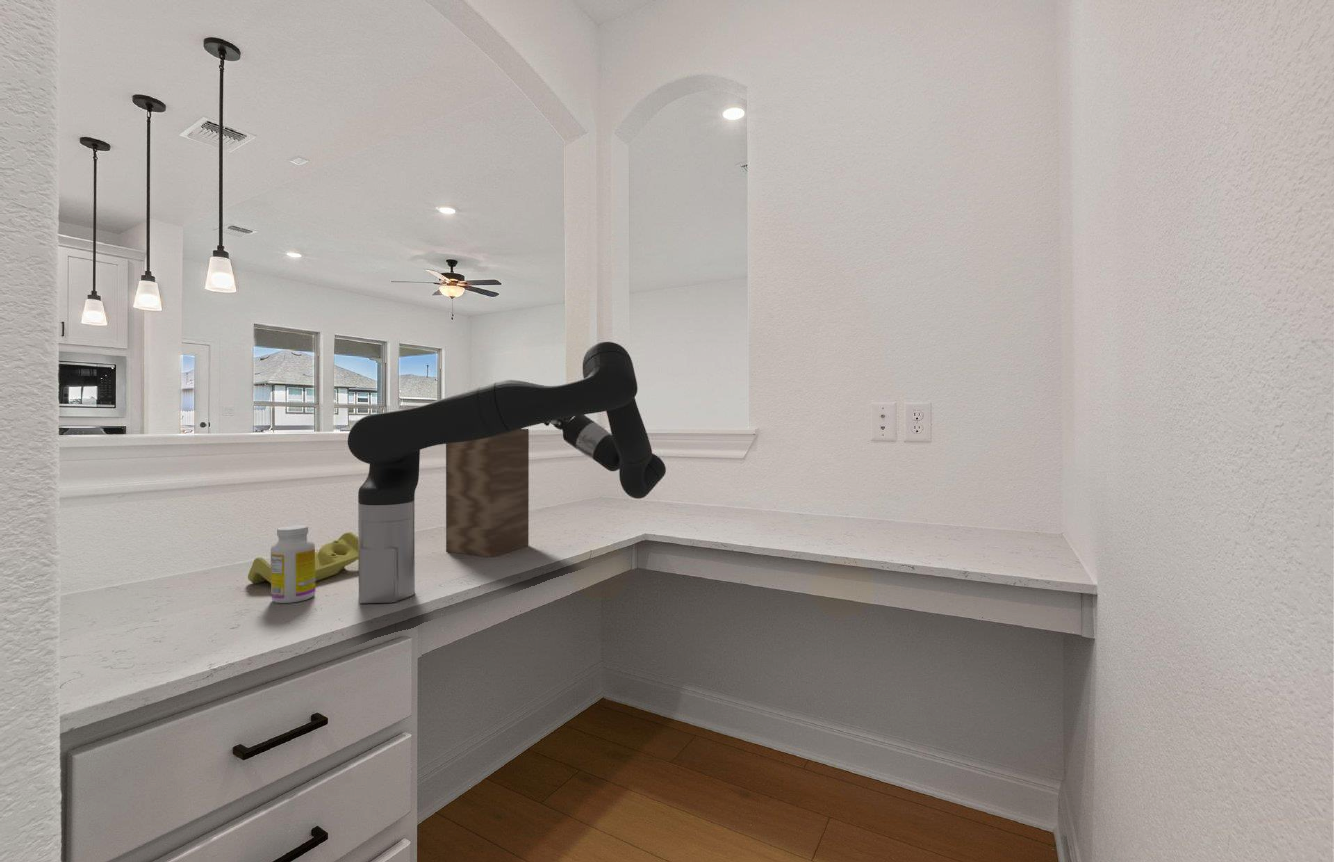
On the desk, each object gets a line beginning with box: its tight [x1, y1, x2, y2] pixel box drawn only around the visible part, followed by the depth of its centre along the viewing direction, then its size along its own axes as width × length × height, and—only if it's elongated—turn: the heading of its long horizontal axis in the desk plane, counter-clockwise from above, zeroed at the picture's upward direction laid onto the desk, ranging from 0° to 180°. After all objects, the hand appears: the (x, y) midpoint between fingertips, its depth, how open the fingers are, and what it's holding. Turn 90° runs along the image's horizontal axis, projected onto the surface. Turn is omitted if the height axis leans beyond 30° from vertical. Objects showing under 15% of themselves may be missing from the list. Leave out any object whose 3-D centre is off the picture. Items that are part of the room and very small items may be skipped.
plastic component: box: [247, 531, 358, 584], centre depth 118 cm, size 20×7×10 cm
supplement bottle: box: [270, 524, 316, 604], centre depth 103 cm, size 7×7×13 cm
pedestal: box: [445, 428, 530, 558], centre depth 144 cm, size 14×14×30 cm
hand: (535, 400), depth 138 cm, fingers closed on hammer, 3 cm apart
